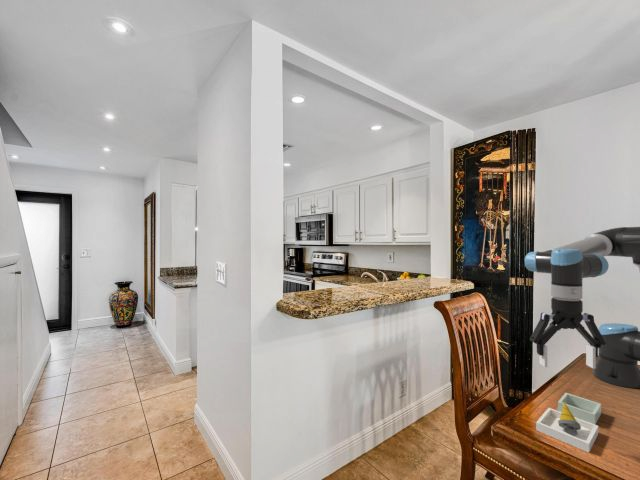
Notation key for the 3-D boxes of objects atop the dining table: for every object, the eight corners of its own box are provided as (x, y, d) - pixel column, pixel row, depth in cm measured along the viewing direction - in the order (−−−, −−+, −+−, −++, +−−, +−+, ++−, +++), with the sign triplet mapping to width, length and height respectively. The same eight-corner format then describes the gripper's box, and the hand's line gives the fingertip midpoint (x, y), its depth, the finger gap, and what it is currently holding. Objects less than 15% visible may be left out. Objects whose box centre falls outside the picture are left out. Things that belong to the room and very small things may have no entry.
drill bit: (556, 434, 92) (549, 400, 98) (571, 441, 92) (564, 406, 98) (571, 432, 88) (564, 397, 94) (588, 439, 88) (579, 404, 94)
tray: (548, 414, 102) (548, 407, 102) (598, 433, 92) (598, 425, 92) (536, 430, 94) (536, 422, 94) (589, 452, 84) (589, 443, 84)
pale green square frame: (565, 401, 109) (565, 392, 109) (601, 414, 102) (601, 403, 102) (557, 411, 103) (557, 401, 103) (595, 425, 96) (594, 414, 96)
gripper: (530, 300, 90) (531, 370, 91) (621, 301, 87) (621, 372, 88) (517, 295, 98) (517, 359, 98) (600, 296, 95) (601, 362, 95)
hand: (566, 366), depth 93 cm, fingers open, 13 cm apart
